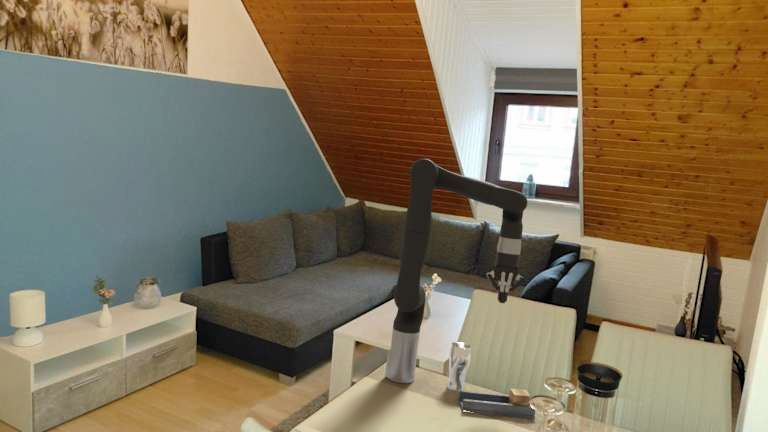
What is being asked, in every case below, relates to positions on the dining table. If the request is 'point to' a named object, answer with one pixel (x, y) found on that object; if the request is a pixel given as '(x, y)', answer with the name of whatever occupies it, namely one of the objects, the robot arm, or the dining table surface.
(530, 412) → the chute
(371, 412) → the dining table surface
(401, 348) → the robot arm
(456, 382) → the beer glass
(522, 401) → the oak block
